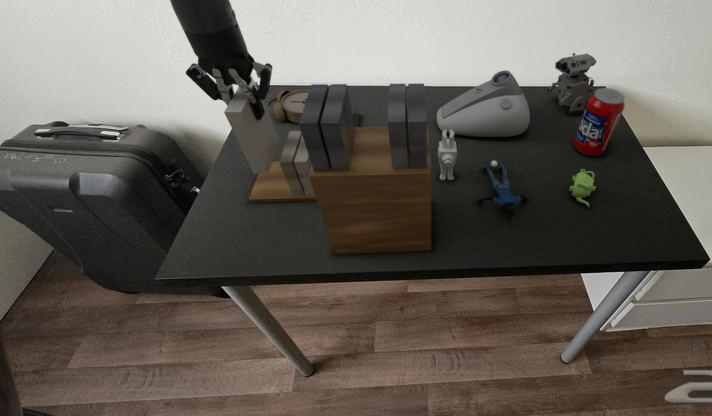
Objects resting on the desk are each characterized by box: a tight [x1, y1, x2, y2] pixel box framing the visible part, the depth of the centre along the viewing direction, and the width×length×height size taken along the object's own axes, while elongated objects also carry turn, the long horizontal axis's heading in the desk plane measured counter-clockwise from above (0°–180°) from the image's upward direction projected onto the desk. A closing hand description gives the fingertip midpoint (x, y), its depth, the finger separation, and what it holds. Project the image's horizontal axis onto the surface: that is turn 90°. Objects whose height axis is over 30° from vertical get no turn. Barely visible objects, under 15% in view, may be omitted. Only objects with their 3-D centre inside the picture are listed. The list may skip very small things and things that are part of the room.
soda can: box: [573, 87, 626, 157], centre depth 87 cm, size 8×8×15 cm
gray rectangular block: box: [223, 81, 281, 175], centre depth 70 cm, size 10×3×14 cm, turn 5°
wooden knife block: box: [298, 83, 432, 255], centre depth 63 cm, size 12×18×28 cm, turn 95°
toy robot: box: [437, 129, 458, 181], centre depth 80 cm, size 4×8×12 cm, turn 3°
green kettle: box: [569, 168, 597, 208], centre depth 79 cm, size 6×5×6 cm
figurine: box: [546, 52, 597, 117], centre depth 99 cm, size 9×12×15 cm
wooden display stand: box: [247, 130, 317, 204], centre depth 77 cm, size 12×14×10 cm
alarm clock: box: [266, 89, 310, 124], centre depth 97 cm, size 11×5×15 cm
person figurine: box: [477, 160, 528, 217], centre depth 79 cm, size 11×4×18 cm
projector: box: [436, 69, 531, 138], centre depth 93 cm, size 22×23×15 cm
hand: (250, 117), depth 68 cm, fingers closed on gray rectangular block, 3 cm apart
